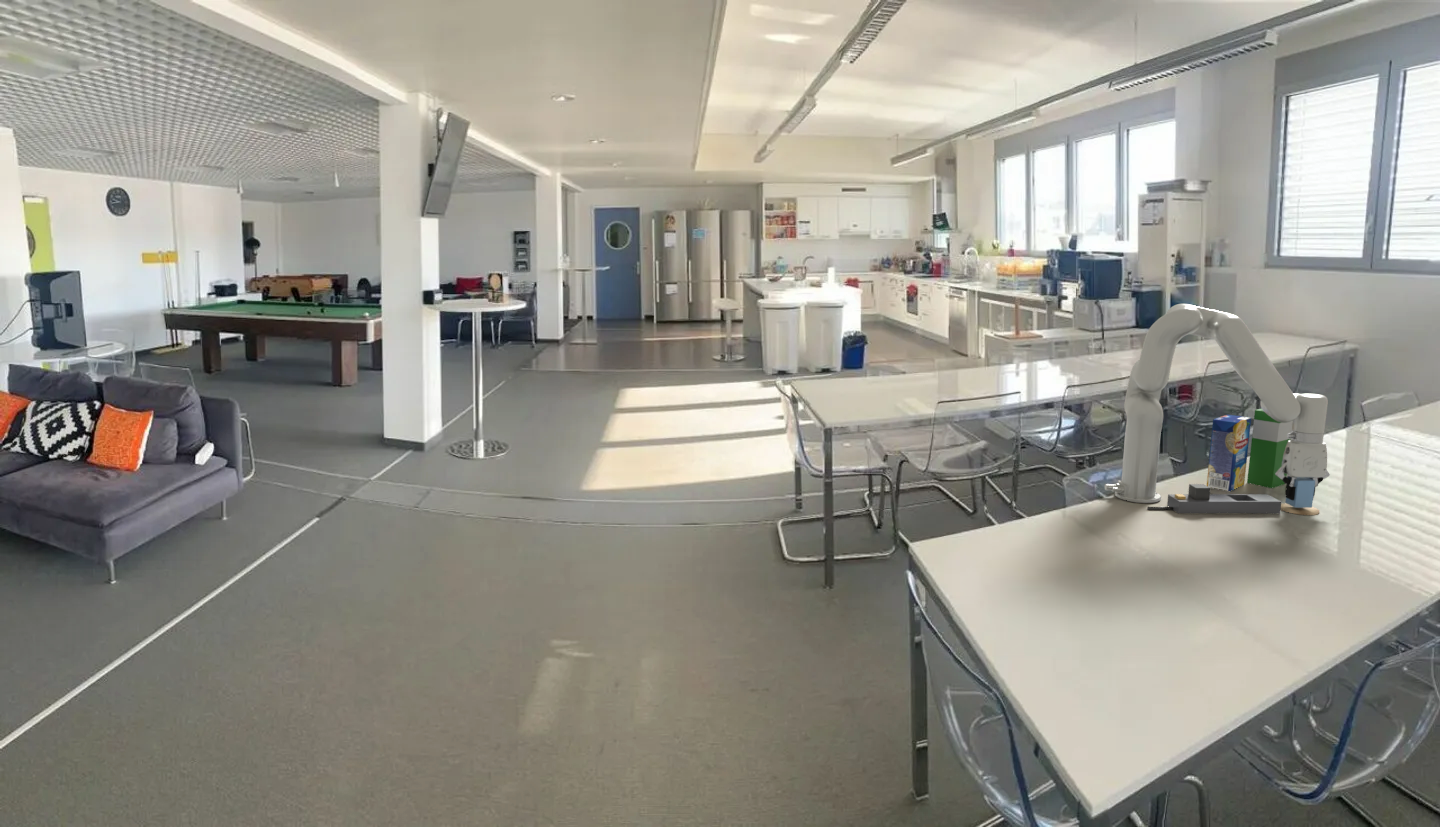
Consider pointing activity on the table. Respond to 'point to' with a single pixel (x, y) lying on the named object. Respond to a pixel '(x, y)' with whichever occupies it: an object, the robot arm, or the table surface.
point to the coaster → (1299, 510)
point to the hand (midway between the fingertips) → (1299, 498)
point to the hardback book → (1267, 450)
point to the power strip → (1220, 502)
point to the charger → (1303, 493)
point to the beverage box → (1228, 452)
